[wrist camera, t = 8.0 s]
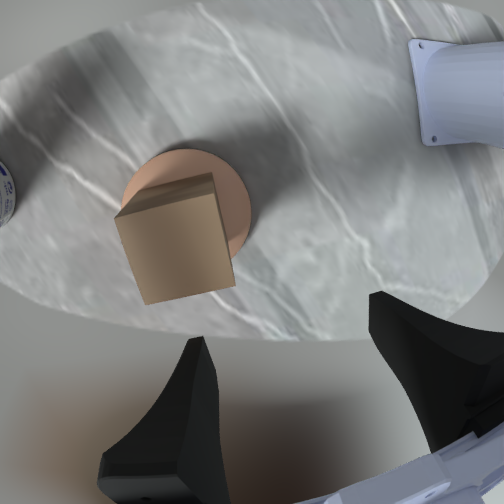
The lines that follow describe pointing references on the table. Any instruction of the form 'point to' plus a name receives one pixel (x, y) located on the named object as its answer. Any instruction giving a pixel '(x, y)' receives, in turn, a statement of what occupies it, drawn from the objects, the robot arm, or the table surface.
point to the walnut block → (176, 239)
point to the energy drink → (6, 195)
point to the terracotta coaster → (193, 164)
